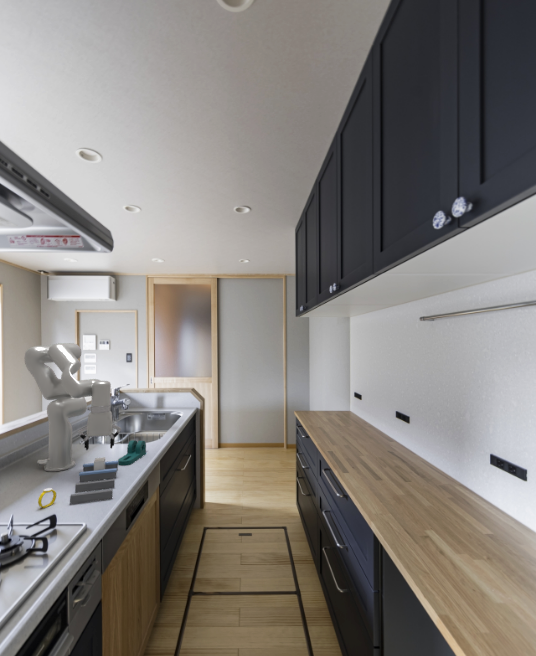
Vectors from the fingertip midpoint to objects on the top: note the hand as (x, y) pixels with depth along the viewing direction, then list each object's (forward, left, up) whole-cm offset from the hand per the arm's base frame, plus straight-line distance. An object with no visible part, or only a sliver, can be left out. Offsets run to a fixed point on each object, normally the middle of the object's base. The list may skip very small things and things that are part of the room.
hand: (99, 448), depth 158 cm
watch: (-14, -26, -12) cm, 32 cm away
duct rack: (0, -11, -12) cm, 16 cm away
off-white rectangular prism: (0, 0, -12) cm, 12 cm away
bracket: (+13, +18, -12) cm, 25 cm away
